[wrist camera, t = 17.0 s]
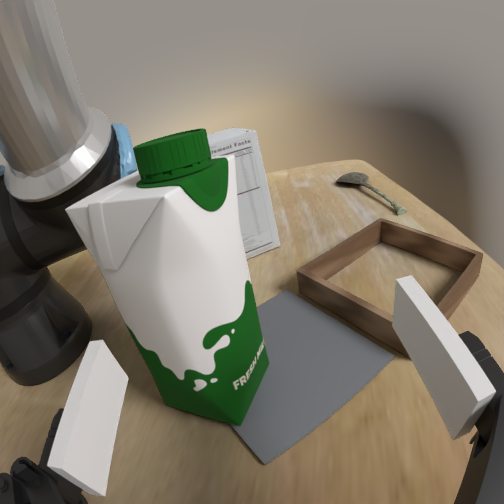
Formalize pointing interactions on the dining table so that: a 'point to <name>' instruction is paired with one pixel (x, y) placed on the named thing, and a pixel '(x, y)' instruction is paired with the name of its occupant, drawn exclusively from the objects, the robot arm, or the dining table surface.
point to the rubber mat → (304, 373)
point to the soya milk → (181, 273)
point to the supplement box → (249, 188)
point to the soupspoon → (362, 179)
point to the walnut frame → (361, 242)
